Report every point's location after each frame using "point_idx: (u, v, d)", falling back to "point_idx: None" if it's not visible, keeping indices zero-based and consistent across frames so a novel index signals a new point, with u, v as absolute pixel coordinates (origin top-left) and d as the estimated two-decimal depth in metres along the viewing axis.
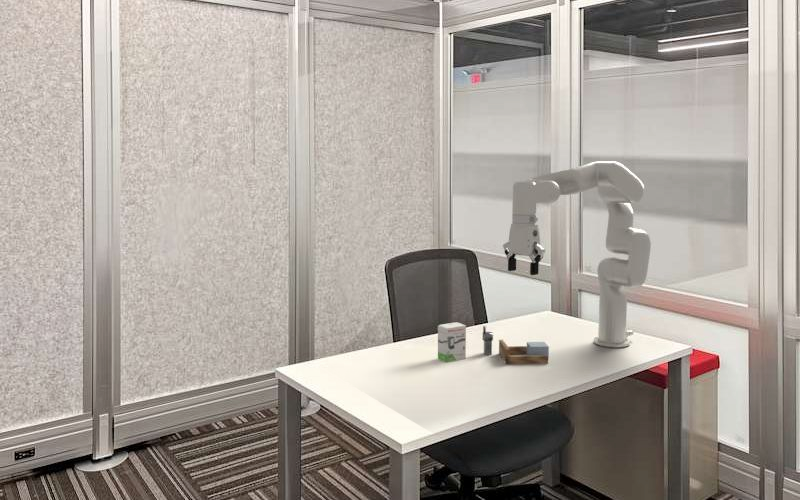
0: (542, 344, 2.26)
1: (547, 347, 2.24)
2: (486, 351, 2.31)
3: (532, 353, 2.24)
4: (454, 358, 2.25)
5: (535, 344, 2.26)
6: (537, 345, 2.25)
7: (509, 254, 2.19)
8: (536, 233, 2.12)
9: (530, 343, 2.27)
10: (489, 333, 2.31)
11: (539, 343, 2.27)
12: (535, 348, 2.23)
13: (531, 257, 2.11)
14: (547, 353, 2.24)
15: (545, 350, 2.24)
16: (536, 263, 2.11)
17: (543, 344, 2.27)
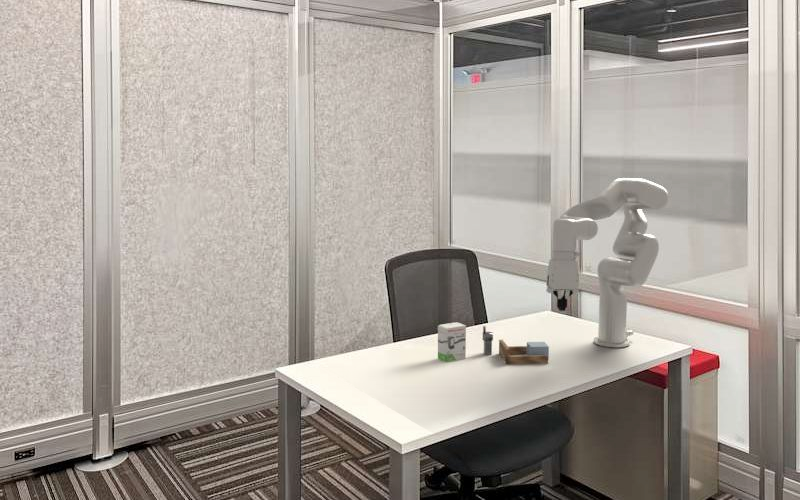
0: (542, 344, 2.26)
1: (547, 347, 2.24)
2: (486, 351, 2.31)
3: (532, 353, 2.24)
4: (454, 358, 2.25)
5: (535, 344, 2.26)
6: (537, 345, 2.25)
7: (559, 294, 2.23)
8: None
9: (530, 343, 2.27)
10: (489, 333, 2.31)
11: (539, 343, 2.27)
12: (535, 348, 2.23)
13: (567, 293, 2.23)
14: (547, 353, 2.24)
15: (545, 350, 2.24)
16: None
17: (543, 344, 2.27)
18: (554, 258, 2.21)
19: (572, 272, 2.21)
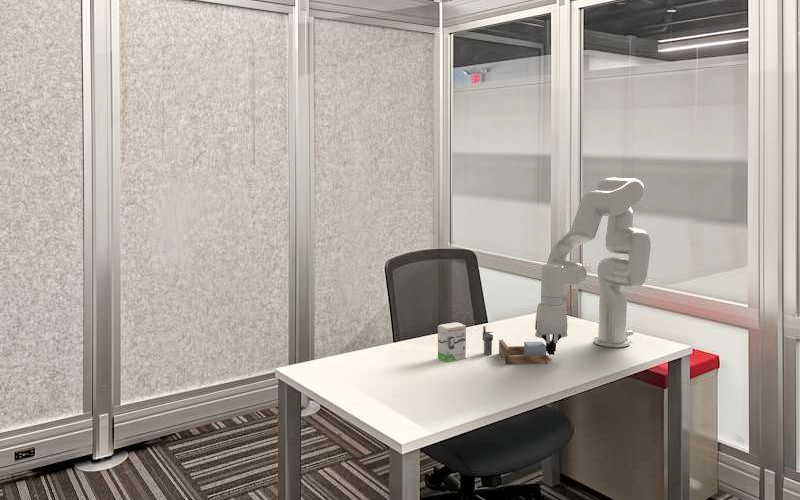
0: (540, 344, 2.26)
1: (544, 347, 2.24)
2: (486, 351, 2.31)
3: (529, 353, 2.24)
4: (454, 358, 2.25)
5: (533, 344, 2.26)
6: (535, 345, 2.25)
7: (548, 338, 2.25)
8: None
9: (527, 343, 2.27)
10: (489, 333, 2.31)
11: (536, 343, 2.27)
12: (532, 347, 2.23)
13: (556, 337, 2.25)
14: (544, 353, 2.24)
15: (542, 349, 2.24)
16: None
17: (540, 343, 2.27)
18: (542, 303, 2.23)
19: (560, 317, 2.23)
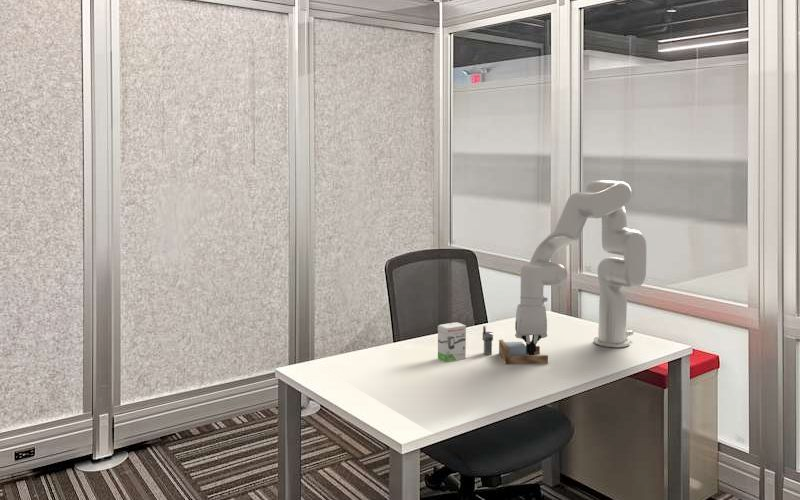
0: (520, 344, 2.26)
1: (525, 347, 2.23)
2: (486, 351, 2.31)
3: (510, 353, 2.23)
4: (454, 358, 2.25)
5: (513, 344, 2.26)
6: (515, 345, 2.24)
7: (527, 339, 2.25)
8: None
9: (508, 343, 2.27)
10: (489, 333, 2.31)
11: (517, 343, 2.27)
12: (513, 348, 2.23)
13: (536, 338, 2.25)
14: (525, 353, 2.23)
15: (522, 350, 2.23)
16: None
17: (520, 344, 2.26)
18: (522, 304, 2.23)
19: (540, 317, 2.23)
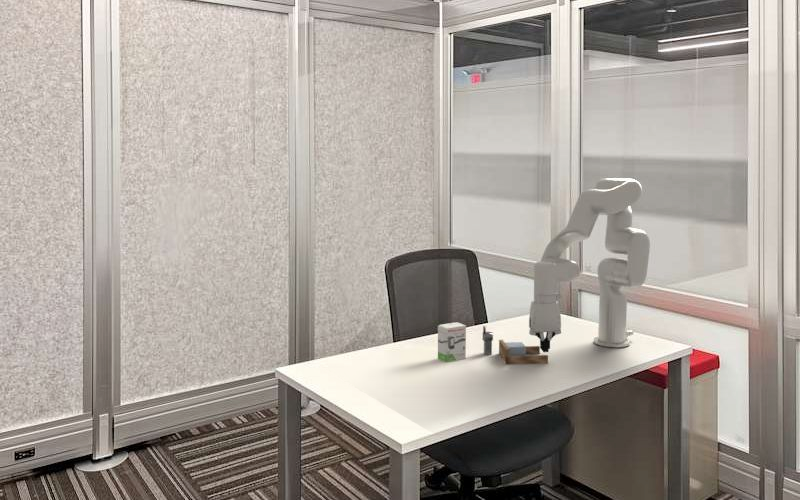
0: (520, 344, 2.26)
1: (524, 347, 2.23)
2: (486, 351, 2.31)
3: None
4: (454, 358, 2.25)
5: (513, 344, 2.26)
6: (515, 345, 2.24)
7: (542, 336, 2.25)
8: None
9: (508, 344, 2.27)
10: (489, 333, 2.31)
11: (517, 343, 2.27)
12: (512, 348, 2.23)
13: (550, 335, 2.25)
14: (524, 353, 2.23)
15: (522, 350, 2.23)
16: None
17: (520, 344, 2.26)
18: (535, 301, 2.23)
19: (554, 314, 2.23)
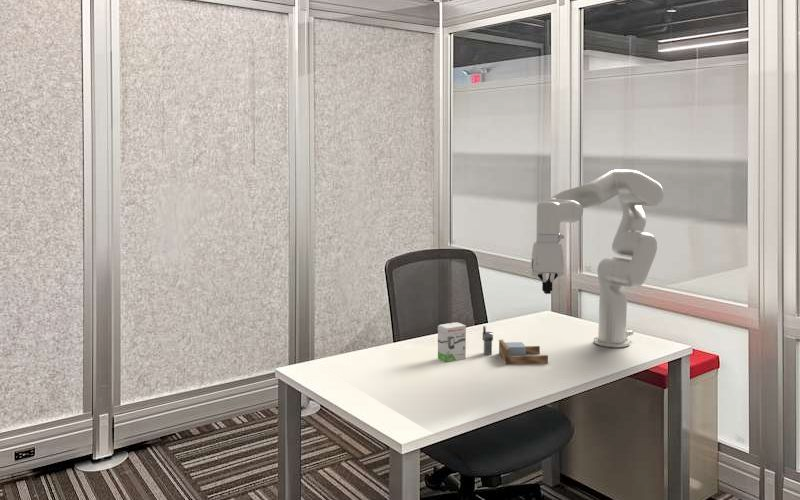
0: (520, 344, 2.26)
1: (524, 347, 2.23)
2: (486, 351, 2.31)
3: None
4: (454, 358, 2.25)
5: (513, 344, 2.26)
6: (515, 345, 2.24)
7: (544, 277, 2.22)
8: None
9: (508, 344, 2.27)
10: (489, 333, 2.31)
11: (517, 343, 2.27)
12: (512, 348, 2.23)
13: (552, 276, 2.22)
14: (524, 353, 2.23)
15: (522, 350, 2.23)
16: None
17: (520, 344, 2.26)
18: (538, 241, 2.20)
19: (556, 255, 2.20)
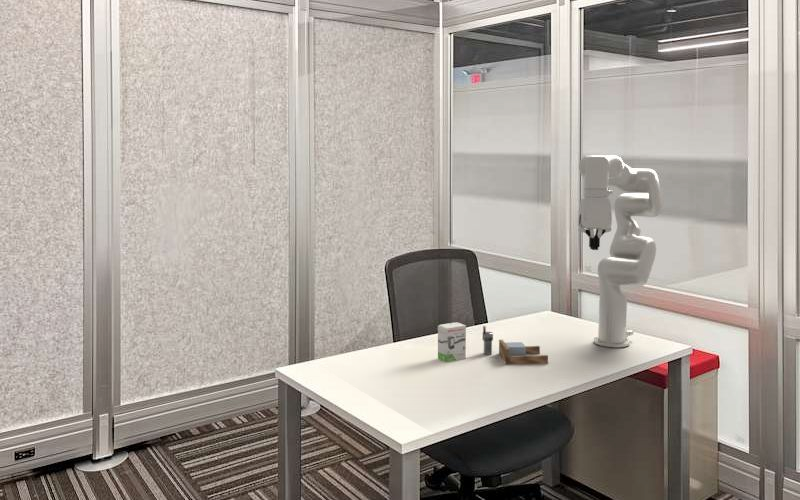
0: (520, 344, 2.26)
1: (524, 347, 2.23)
2: (486, 351, 2.31)
3: None
4: (454, 358, 2.25)
5: (513, 344, 2.26)
6: (515, 345, 2.24)
7: (591, 232, 2.20)
8: None
9: (508, 344, 2.27)
10: (489, 333, 2.31)
11: (517, 343, 2.27)
12: (512, 348, 2.23)
13: (600, 232, 2.20)
14: (524, 353, 2.23)
15: (522, 350, 2.23)
16: None
17: (520, 344, 2.26)
18: (586, 196, 2.18)
19: (605, 210, 2.18)
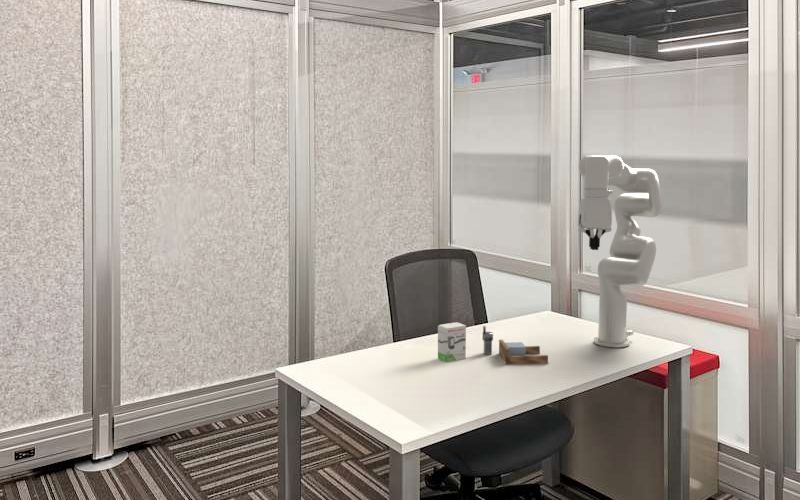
0: (520, 345, 2.25)
1: (524, 348, 2.23)
2: (486, 351, 2.31)
3: None
4: (454, 358, 2.25)
5: (513, 345, 2.26)
6: (514, 346, 2.24)
7: (591, 232, 2.20)
8: None
9: (507, 344, 2.27)
10: (489, 333, 2.31)
11: (516, 344, 2.27)
12: (512, 348, 2.23)
13: (600, 232, 2.20)
14: (524, 354, 2.23)
15: (522, 350, 2.23)
16: None
17: (520, 344, 2.26)
18: (586, 196, 2.18)
19: (605, 210, 2.18)
